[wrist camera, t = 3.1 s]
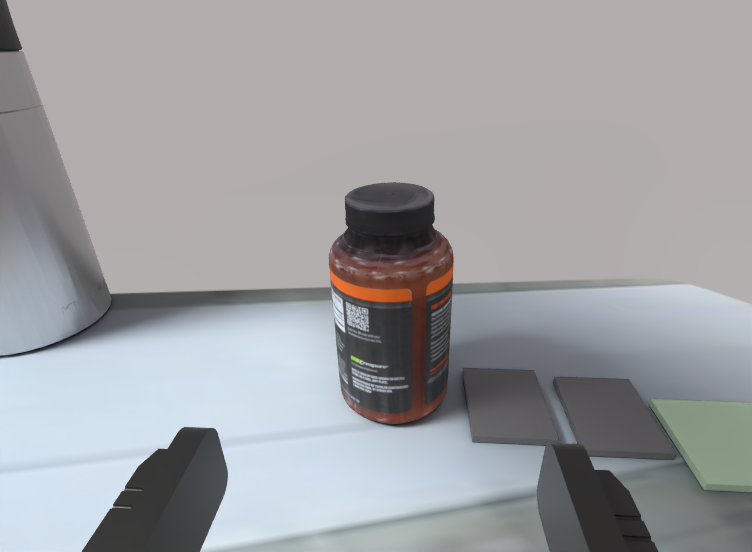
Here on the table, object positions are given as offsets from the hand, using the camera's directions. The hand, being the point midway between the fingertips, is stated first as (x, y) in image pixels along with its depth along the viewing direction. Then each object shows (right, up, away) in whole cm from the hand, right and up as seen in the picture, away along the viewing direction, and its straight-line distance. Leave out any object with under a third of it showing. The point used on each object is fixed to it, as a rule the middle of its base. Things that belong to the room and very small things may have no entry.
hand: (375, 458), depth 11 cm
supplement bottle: (+1, -2, +14) cm, 14 cm away
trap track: (+13, -3, +11) cm, 17 cm away
